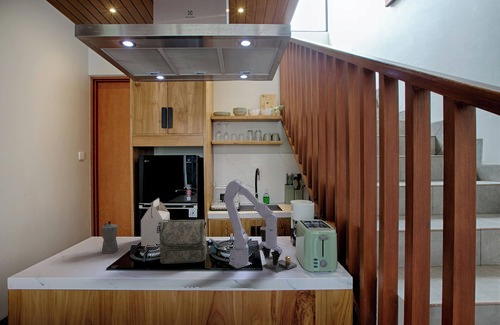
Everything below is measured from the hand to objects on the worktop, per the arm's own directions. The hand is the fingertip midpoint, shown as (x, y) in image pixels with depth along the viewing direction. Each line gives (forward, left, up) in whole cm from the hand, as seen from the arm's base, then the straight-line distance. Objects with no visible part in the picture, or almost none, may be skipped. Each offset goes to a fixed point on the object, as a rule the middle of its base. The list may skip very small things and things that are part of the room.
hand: (271, 263), depth 145 cm
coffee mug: (+23, +29, -2) cm, 37 cm away
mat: (+2, -3, -1) cm, 5 cm away
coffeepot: (-62, +75, -2) cm, 97 cm away
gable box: (-34, +75, -2) cm, 82 cm away
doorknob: (+6, -6, -1) cm, 9 cm away
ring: (0, 0, -1) cm, 1 cm away
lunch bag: (-32, +37, -2) cm, 49 cm away
